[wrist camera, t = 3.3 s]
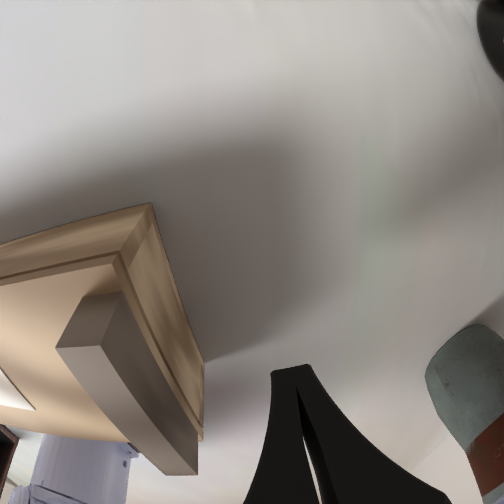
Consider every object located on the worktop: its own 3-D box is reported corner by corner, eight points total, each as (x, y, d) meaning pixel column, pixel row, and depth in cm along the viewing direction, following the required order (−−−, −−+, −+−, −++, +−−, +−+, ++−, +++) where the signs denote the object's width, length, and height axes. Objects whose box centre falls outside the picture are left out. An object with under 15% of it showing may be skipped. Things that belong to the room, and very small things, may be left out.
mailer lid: (203, 432, 14) (203, 481, 11) (-8, 415, 14) (-19, 444, 11) (117, 254, 9) (83, 314, 6) (-89, 302, 9) (-112, 329, 6)
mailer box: (204, 363, 19) (203, 427, 14) (14, 371, 18) (-6, 412, 14) (150, 202, 14) (119, 250, 9) (-50, 263, 13) (-87, 299, 9)
